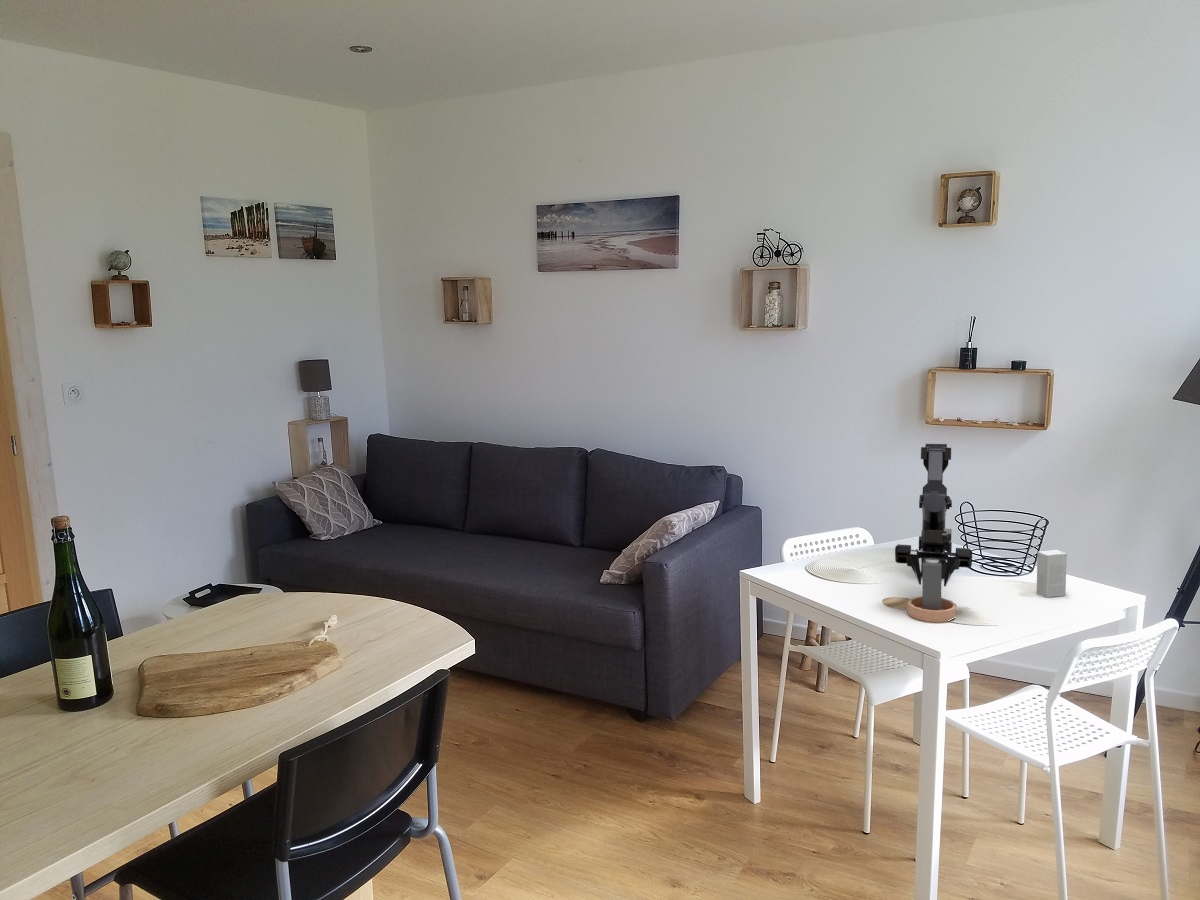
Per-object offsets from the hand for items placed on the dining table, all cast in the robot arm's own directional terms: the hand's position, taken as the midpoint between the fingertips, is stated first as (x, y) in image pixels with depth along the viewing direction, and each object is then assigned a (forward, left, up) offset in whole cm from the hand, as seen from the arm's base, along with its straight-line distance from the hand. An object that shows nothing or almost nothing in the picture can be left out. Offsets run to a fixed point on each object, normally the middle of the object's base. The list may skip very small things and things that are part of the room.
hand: (932, 584), depth 220 cm
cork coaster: (-12, +2, -9) cm, 15 cm away
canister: (-1, +1, -7) cm, 8 cm away
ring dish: (-1, +1, -8) cm, 9 cm away
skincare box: (+8, +39, -9) cm, 41 cm away
